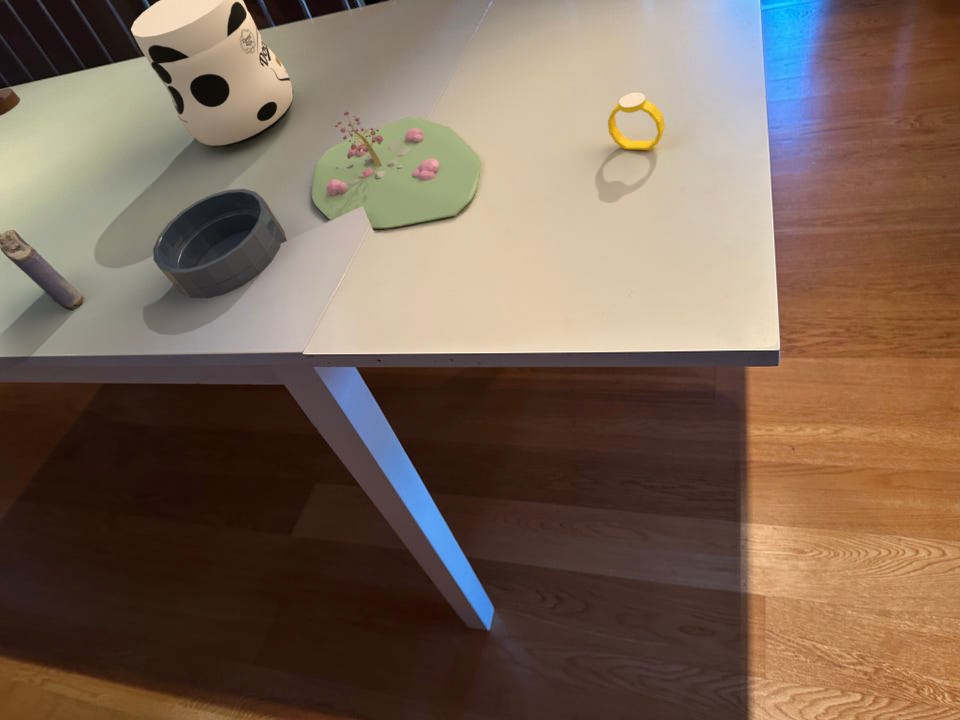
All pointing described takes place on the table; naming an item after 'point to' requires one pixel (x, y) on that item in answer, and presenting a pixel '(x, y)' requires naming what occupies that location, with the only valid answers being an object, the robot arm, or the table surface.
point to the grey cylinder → (39, 270)
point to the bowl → (218, 243)
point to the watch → (634, 104)
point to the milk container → (215, 68)
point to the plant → (397, 173)
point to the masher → (8, 100)
